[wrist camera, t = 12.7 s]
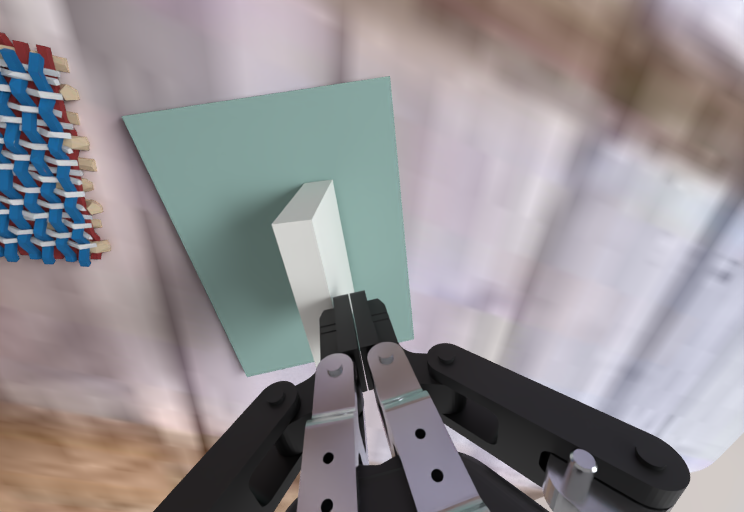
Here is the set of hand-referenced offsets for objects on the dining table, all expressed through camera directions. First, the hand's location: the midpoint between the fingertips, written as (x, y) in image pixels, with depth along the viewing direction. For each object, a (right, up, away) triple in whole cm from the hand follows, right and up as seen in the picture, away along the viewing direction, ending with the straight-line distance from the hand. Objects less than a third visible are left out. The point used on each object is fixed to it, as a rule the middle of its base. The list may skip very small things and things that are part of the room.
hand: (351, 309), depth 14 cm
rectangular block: (-1, -2, +4) cm, 5 cm away
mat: (-3, +3, +6) cm, 7 cm away
